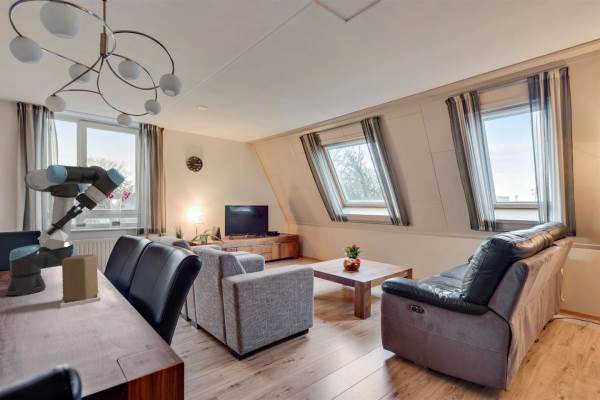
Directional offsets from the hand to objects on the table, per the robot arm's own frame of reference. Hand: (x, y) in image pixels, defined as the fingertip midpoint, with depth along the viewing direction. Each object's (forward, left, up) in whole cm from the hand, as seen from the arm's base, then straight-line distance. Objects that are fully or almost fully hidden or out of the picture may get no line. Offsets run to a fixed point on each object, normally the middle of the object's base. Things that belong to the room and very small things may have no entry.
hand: (42, 239), depth 118 cm
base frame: (-16, +12, -30) cm, 36 cm away
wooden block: (-16, +12, -30) cm, 36 cm away
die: (-1, +4, -4) cm, 6 cm away
